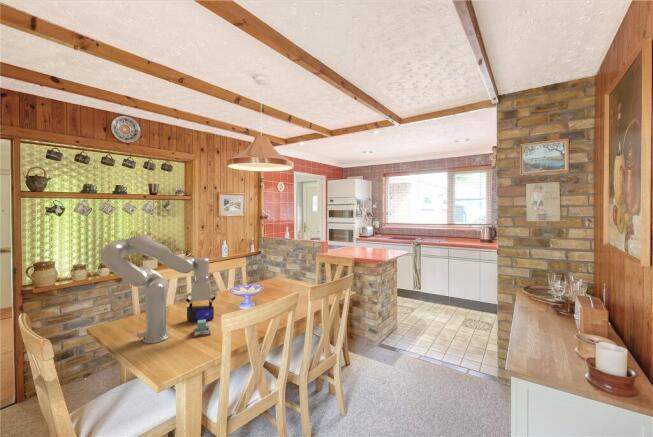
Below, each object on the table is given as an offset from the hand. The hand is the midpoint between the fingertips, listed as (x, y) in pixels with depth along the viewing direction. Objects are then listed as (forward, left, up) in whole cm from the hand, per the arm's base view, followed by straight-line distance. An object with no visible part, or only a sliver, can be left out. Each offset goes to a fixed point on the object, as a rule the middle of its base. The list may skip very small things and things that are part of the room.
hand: (200, 309), depth 165 cm
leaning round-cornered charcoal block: (0, +21, -14) cm, 25 cm away
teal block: (+1, 0, -13) cm, 13 cm away
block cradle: (+1, 0, -14) cm, 14 cm away
